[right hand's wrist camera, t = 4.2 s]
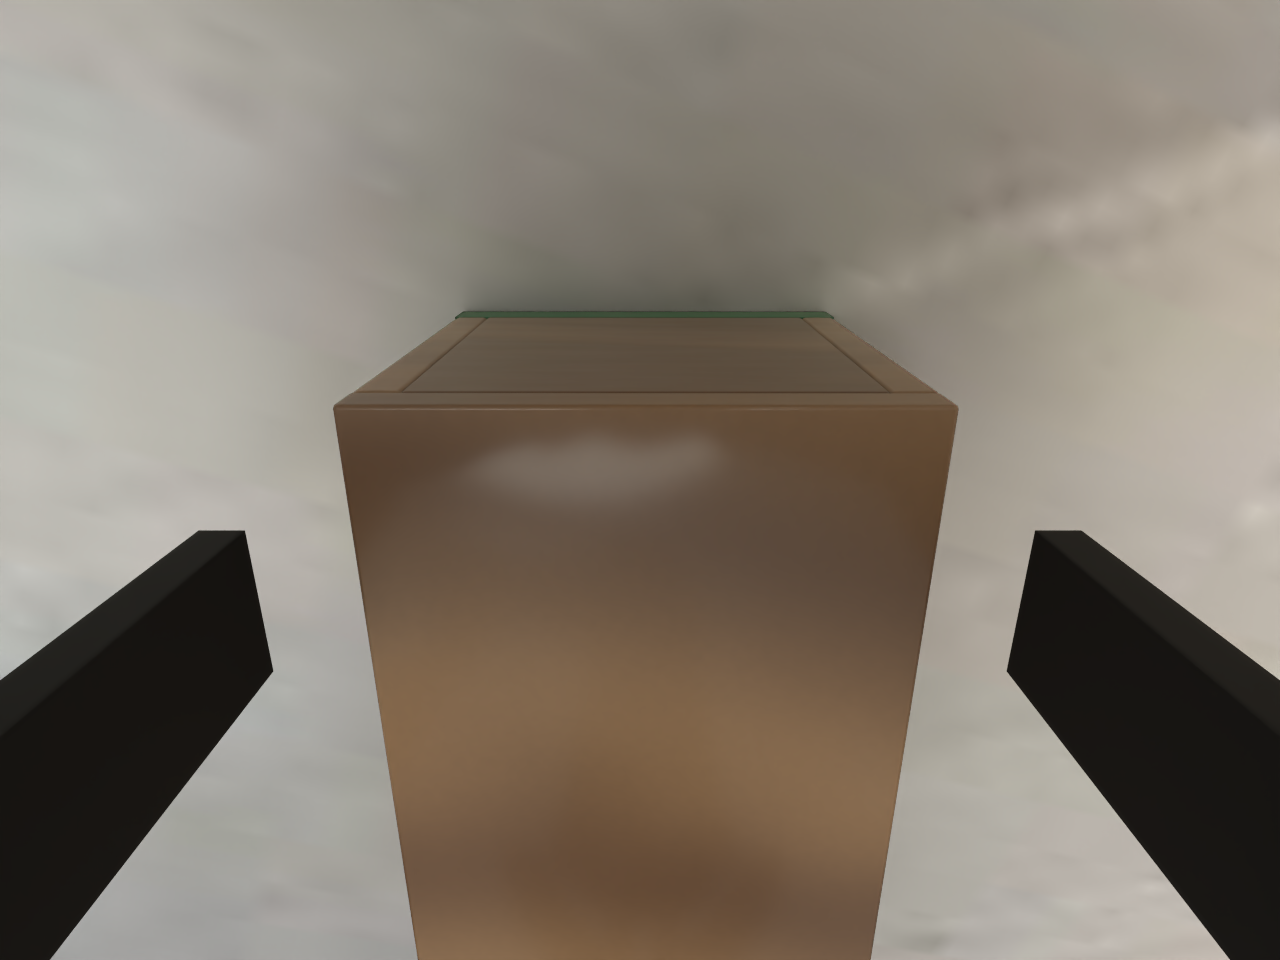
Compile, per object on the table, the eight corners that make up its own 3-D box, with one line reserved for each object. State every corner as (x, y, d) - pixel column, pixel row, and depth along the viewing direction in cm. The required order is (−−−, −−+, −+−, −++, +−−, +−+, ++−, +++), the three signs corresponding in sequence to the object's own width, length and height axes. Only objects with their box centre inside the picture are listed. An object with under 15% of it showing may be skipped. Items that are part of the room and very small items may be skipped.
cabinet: (775, 882, 28) (834, 1195, 19) (511, 882, 28) (452, 1193, 19) (826, 311, 20) (962, 404, 12) (463, 311, 20) (329, 404, 12)
